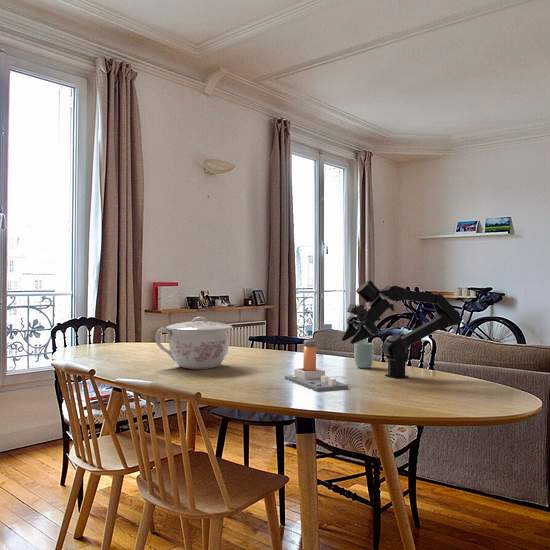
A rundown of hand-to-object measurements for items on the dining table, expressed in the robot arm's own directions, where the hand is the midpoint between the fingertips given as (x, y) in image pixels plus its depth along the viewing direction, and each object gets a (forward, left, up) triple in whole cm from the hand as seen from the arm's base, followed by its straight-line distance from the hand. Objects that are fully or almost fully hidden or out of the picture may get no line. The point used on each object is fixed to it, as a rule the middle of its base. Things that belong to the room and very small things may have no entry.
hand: (346, 341), depth 206 cm
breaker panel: (-4, +16, -14) cm, 21 cm away
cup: (+18, -19, -14) cm, 30 cm away
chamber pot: (+46, +43, -14) cm, 64 cm away
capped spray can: (+3, +14, -12) cm, 19 cm away
